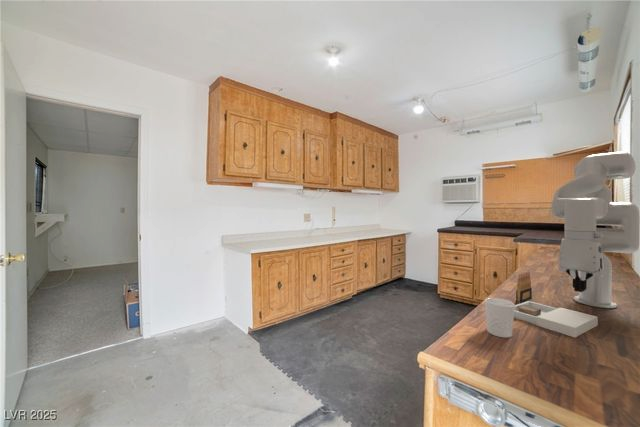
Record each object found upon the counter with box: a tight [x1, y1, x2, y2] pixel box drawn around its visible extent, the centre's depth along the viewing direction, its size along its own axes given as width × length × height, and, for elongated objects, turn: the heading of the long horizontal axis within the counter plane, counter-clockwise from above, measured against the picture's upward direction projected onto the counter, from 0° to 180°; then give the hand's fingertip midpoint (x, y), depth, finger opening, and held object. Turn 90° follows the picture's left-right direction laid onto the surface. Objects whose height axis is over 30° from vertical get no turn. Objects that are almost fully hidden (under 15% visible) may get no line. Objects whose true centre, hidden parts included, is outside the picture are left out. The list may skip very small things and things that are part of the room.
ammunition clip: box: [515, 271, 533, 304], centre depth 117 cm, size 11×2×12 cm, turn 122°
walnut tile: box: [519, 305, 541, 316], centre depth 101 cm, size 5×5×2 cm
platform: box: [536, 307, 599, 338], centre depth 91 cm, size 18×10×3 cm, turn 119°
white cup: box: [484, 297, 516, 338], centre depth 86 cm, size 8×8×10 cm
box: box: [514, 300, 559, 326], centre depth 100 cm, size 17×10×2 cm, turn 119°
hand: (579, 290), depth 89 cm, fingers closed
